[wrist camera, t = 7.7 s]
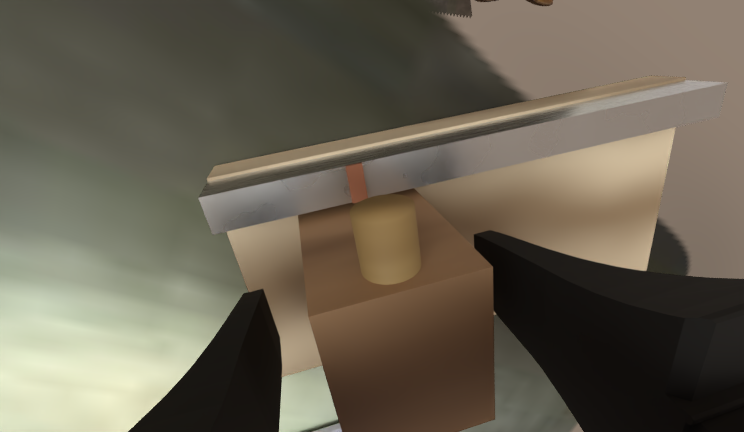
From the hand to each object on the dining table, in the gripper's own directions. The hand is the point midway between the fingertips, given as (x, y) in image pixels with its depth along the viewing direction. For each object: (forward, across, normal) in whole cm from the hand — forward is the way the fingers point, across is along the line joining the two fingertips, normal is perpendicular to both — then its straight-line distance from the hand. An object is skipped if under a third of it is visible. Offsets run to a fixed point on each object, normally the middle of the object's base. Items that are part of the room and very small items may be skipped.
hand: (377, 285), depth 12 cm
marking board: (+4, -4, 0) cm, 6 cm away
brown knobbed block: (+2, 0, 0) cm, 2 cm away
